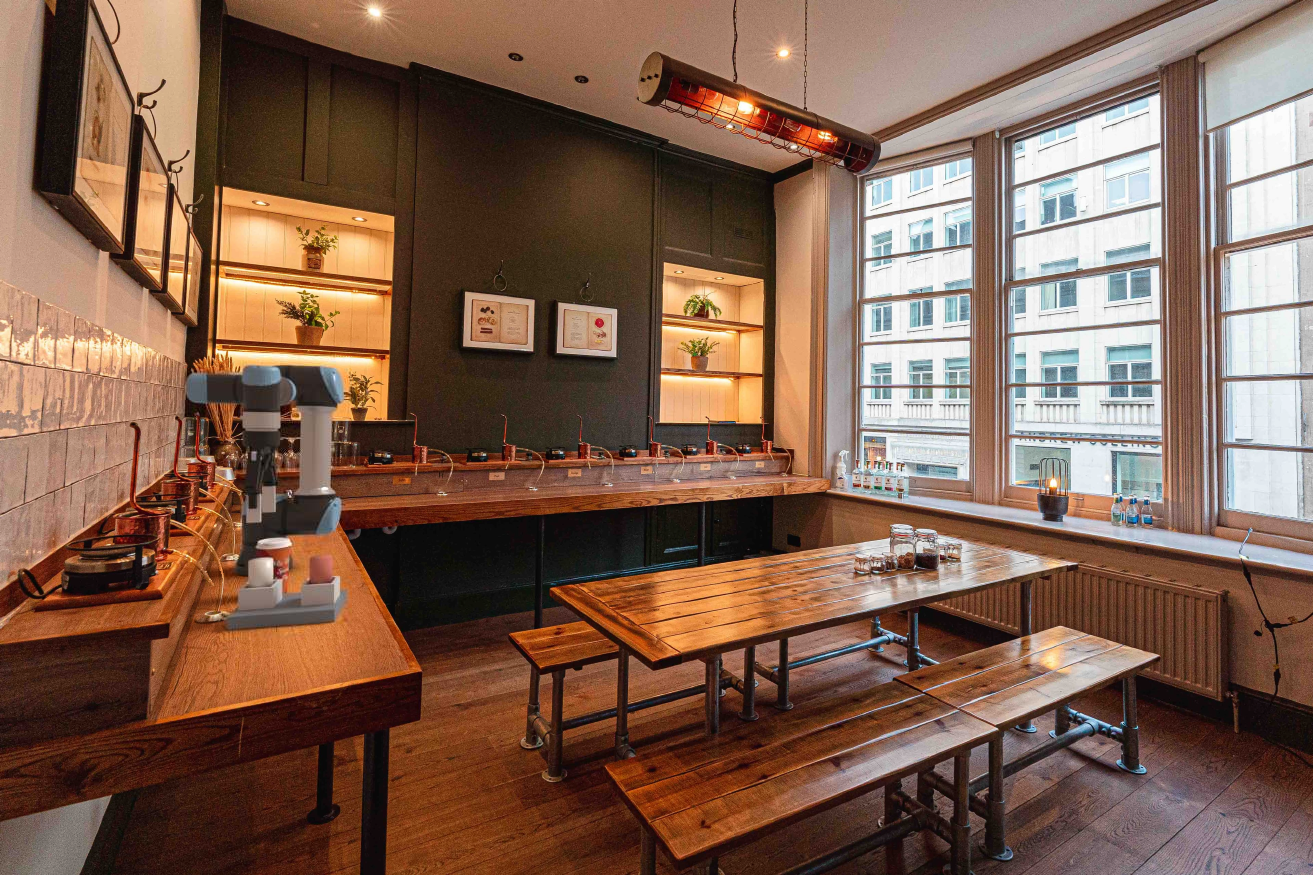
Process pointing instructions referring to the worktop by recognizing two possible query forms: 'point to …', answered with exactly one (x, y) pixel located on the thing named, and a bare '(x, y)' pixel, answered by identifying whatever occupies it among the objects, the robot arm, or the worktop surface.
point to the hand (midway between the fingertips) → (261, 517)
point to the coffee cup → (277, 557)
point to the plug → (260, 572)
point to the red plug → (321, 569)
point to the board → (287, 605)
